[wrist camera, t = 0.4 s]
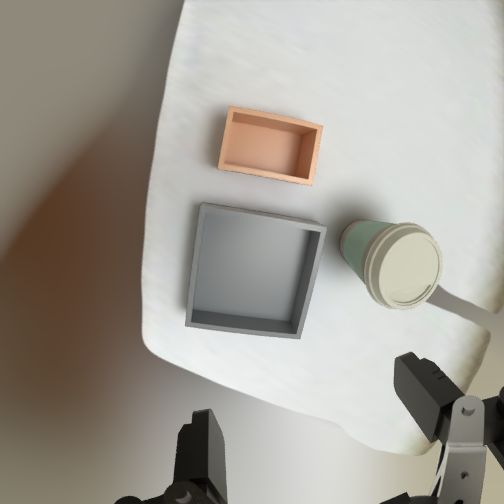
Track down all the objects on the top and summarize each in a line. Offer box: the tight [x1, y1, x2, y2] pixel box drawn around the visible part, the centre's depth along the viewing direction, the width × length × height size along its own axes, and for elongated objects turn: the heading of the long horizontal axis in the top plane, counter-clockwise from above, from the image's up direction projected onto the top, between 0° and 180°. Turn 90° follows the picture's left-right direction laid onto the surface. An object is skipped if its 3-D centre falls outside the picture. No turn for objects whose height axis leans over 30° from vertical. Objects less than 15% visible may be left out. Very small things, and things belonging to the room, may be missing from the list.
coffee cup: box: [340, 220, 442, 310], centre depth 32 cm, size 9×8×12 cm
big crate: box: [185, 203, 327, 339], centre depth 35 cm, size 13×13×4 cm
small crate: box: [218, 106, 323, 186], centre depth 31 cm, size 6×9×6 cm, turn 80°
